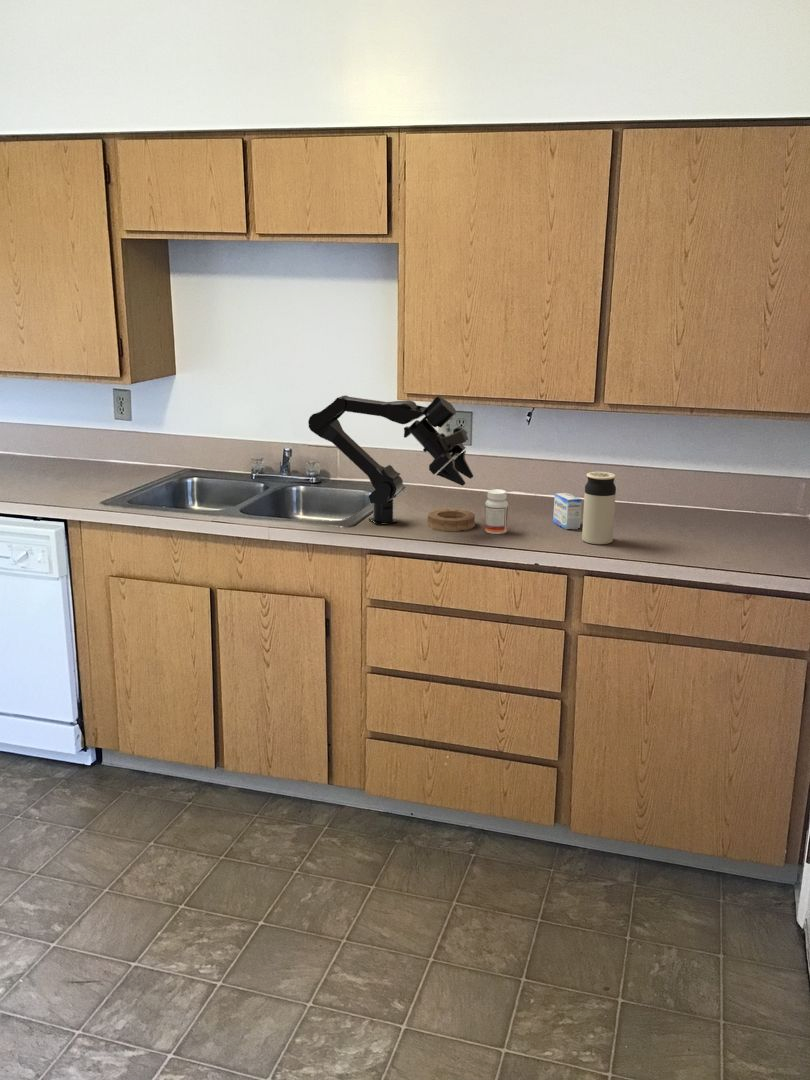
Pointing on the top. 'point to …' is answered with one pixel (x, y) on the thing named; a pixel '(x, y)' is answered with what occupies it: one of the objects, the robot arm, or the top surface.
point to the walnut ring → (451, 519)
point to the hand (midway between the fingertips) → (468, 481)
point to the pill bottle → (496, 512)
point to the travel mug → (599, 508)
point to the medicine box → (567, 511)
